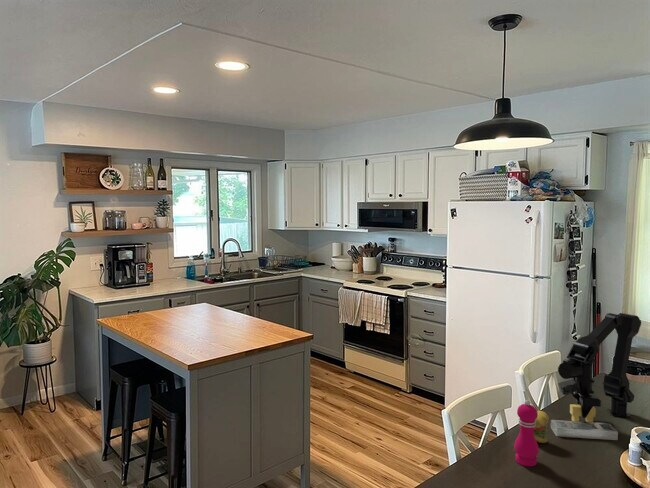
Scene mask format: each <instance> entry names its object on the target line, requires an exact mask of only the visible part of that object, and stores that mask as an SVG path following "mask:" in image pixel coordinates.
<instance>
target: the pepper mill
mask: <svg viewBox="0 0 650 488" xmlns="http://www.w3.org/2000/svg"><path fill="white" fill-rule="evenodd" d="M516 411H517V417H518V425H519V434H518V436H517V437H516V439H515V441H514V445H513V447H514V451H515V452H516V453H515V461H516V463H518V464H519V465H521V466H524V467H535V466H536V465H538V454H539V453H540V450H539V445H538V442H537V441H536V439H535V437H534V427H535V426H536V424H535V423H536V421H535V419H536V418H537V417H538V413H537V411H538V410H537V408H536V407H535V406H534V405H532V403H531V401H530V400H529V399H526V400H525V401H524V403H523V404H521V405H519V406H518V407H517V409H516Z"/></svg>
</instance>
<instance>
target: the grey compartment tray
mask: <svg viewBox="0 0 650 488" xmlns="http://www.w3.org/2000/svg"><path fill="white" fill-rule="evenodd" d="M550 429H551V430H552V432H553V433H554V435H555V436H556V437H563V438H564V437H565V438H576V439H577V438H579V439H580V438H581V439H593V440H609V441H611V440H612V441H618V439H619V437H618V436H619V431H618V430H617V429H616V428H615V427H614V426H613V425H612V424H611V423H608V422H594V421H593V422H586V421H580V420H579V421H572V420H562V419H561V420H558V419H551V420H550Z"/></svg>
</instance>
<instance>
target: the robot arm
mask: <svg viewBox="0 0 650 488" xmlns="http://www.w3.org/2000/svg"><path fill="white" fill-rule="evenodd" d="M641 326H642V320H641V319H640V317H639V316H638V315H635V314H629V313H623V312H620V313H618V314H617V313H611V312H609V313H606V314H605V315H604V318H603V319H602V320H601V321H600V322H599V323H598V325H596V326H595V328H594V329H592V331H591V332H589V334H587V335H586V336H581V337H580V338H578V339H577V340H575V341H574V343H573V344H572V347H571V348H570V350H569V352H568V354H567V356H566V358H565V359H563V360H562V363H560V364H559V365H558V367H557V371H558V375H559V376H560V377H561V378H562V379H563V380H564V381H561V382H558V383H557V385H558V388H559V391H560V393H562V395H564V396H567V395H571V396H572V397H573V398H574V399H575V402H576V403H575V404H576V405H581V412H582V416H581V417H582V419H583V418H584V419H586V417H587V415H588V413H589V412H590V410H591V409H592V407H593V406H594V407H595V408H596V407H597V408H598V407H599V408H600V407H602V400H600V398H599V397H598V396H596V395H595V391H594V389H593V384H594V383H595V379H594V378H593V370H594V368H593V365H594V364H596V363H597V362H598V361H597V359H595V357H596V356H597V355H598V353H599V352H600V345H601V344H602V343H603V342H604V341H605V339H606V338H607V337H608V336H609V335H610V334H611V333H612V332H613V331H614V330H615V332H616V334H617V339H616V344H615V350H614V357H613V360H612V361H613V362H612V366H611V371H610V372H609V373H608V374H604V377H603V382H602V387H603V392H604V395H605V396H606V397H609V398H610V402H609V404H610V406H609V407H610V408H606V411H607V412H608V413H609V414H610V415H611V416H613V417H623V418H624V417H625V418H632V416H631V414H629V412H628V403H632V402H634V400H635V394H634V393H633V392H632V391H631V390H630V380H629V378H628V377H627V372H628V367H629V359H630V354H631V348H632V343H633V339H634V337H636V335H638V334H639V332H640V330H641V329H640V328H641ZM568 379H569V380H568Z"/></svg>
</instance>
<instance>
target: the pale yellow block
mask: <svg viewBox="0 0 650 488" xmlns="http://www.w3.org/2000/svg"><path fill="white" fill-rule="evenodd" d="M596 410H597V409H596V406H593V407H592V409H591V410H590V412H589V413H588V415H587V417H586V418H585V422H594V418H595V417H596V413H597V412H596ZM569 413H570V415H571V421H579V422H580V417H582V412H581V405H577V403H575V404H574V403H573V404H569Z"/></svg>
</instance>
